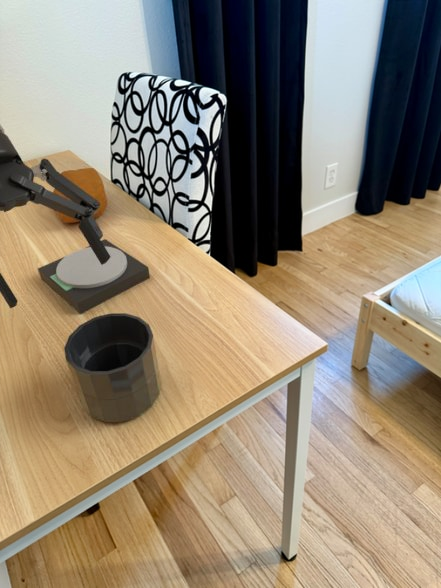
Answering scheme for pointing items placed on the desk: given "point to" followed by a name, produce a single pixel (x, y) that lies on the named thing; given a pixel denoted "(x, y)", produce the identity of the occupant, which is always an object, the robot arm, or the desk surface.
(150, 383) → the cup
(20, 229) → the desk surface
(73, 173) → the bread
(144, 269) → the scale
